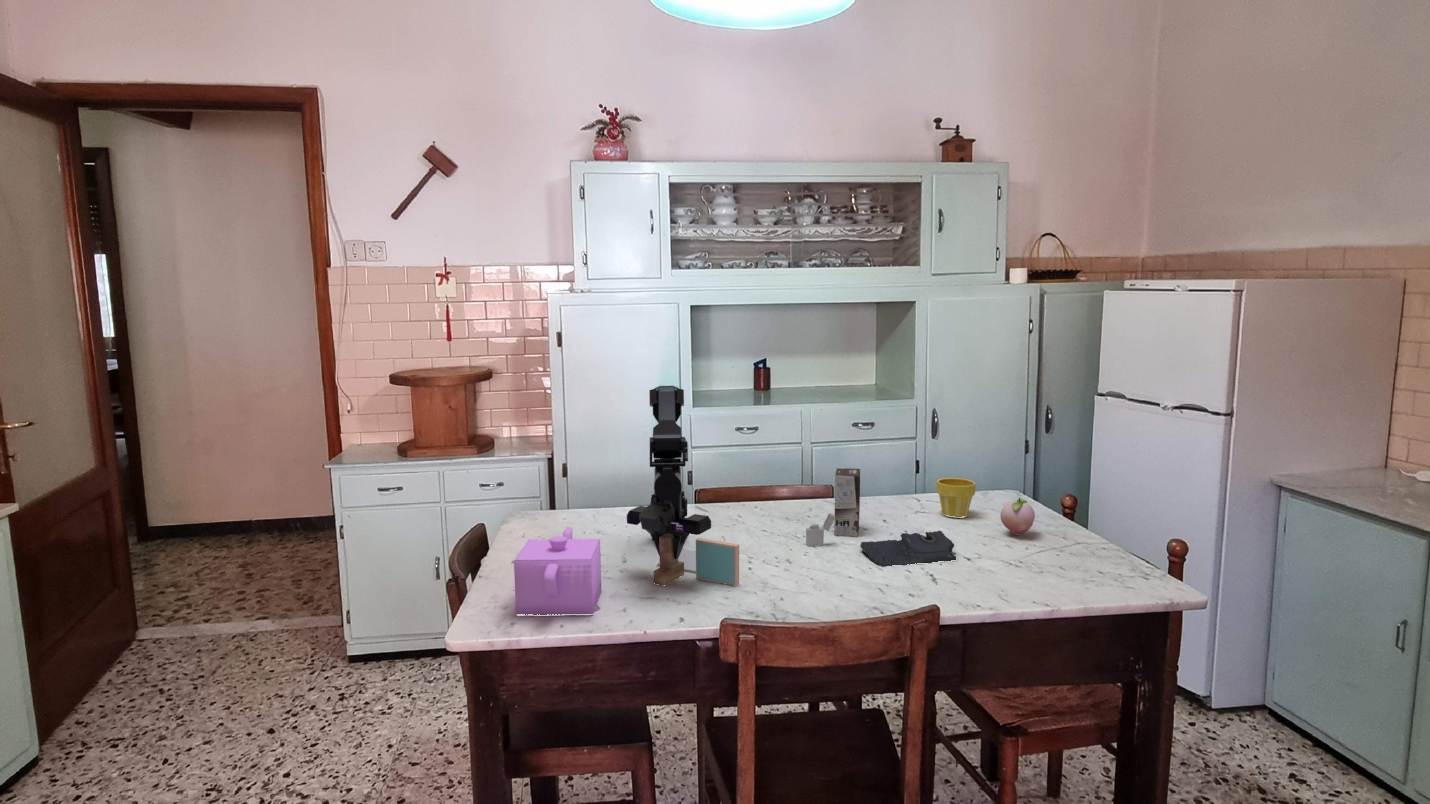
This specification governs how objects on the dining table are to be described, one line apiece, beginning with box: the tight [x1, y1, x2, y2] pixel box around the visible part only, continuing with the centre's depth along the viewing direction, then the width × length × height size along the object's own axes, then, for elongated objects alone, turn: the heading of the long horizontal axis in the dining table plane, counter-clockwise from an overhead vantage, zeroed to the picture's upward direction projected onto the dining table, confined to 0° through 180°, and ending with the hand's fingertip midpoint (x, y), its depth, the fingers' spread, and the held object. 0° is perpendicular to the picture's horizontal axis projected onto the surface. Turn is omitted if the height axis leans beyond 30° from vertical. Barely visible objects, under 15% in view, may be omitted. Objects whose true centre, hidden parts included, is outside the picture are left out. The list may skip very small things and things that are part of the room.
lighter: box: [805, 512, 836, 547], centre depth 201 cm, size 7×2×8 cm, turn 95°
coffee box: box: [833, 467, 861, 538], centre depth 211 cm, size 9×6×16 cm
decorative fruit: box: [1000, 497, 1036, 536], centre depth 207 cm, size 9×8×10 cm
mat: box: [656, 548, 696, 574], centre depth 189 cm, size 12×12×1 cm
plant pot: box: [936, 477, 976, 517], centre depth 226 cm, size 10×10×10 cm
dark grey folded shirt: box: [859, 530, 957, 568], centre depth 194 cm, size 15×22×5 cm
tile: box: [695, 537, 740, 587], centre depth 176 cm, size 10×2×9 cm, turn 61°
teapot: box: [513, 527, 602, 615], centre depth 165 cm, size 15×25×14 cm, turn 1°
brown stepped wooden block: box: [653, 533, 685, 586], centre depth 177 cm, size 3×8×10 cm, turn 151°
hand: (668, 557), depth 177 cm, fingers open, 4 cm apart
